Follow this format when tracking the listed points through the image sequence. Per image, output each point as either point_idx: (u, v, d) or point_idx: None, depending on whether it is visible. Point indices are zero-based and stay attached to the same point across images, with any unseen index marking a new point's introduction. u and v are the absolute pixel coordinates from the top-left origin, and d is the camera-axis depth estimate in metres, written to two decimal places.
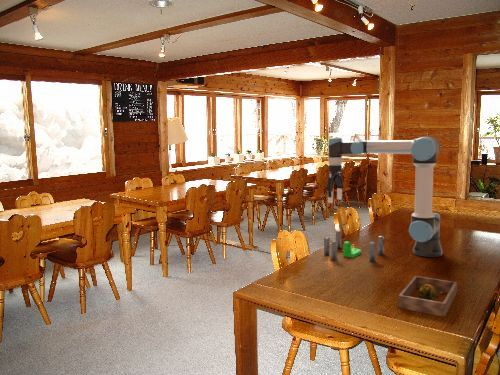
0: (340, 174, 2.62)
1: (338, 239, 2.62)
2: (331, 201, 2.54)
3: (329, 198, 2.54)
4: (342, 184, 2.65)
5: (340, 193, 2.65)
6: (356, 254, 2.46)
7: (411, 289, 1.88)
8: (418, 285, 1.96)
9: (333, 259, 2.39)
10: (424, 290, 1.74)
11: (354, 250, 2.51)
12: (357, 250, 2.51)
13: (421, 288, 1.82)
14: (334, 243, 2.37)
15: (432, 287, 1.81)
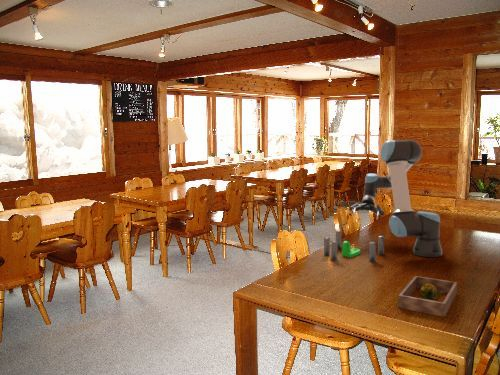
0: (377, 206, 2.73)
1: (338, 239, 2.62)
2: (353, 212, 2.64)
3: (353, 213, 2.66)
4: (381, 210, 2.67)
5: (377, 213, 2.63)
6: (355, 254, 2.47)
7: (411, 289, 1.88)
8: (418, 285, 1.96)
9: (333, 259, 2.39)
10: (426, 290, 1.74)
11: (353, 250, 2.51)
12: (356, 250, 2.51)
13: (422, 288, 1.83)
14: (334, 243, 2.37)
15: (433, 287, 1.82)
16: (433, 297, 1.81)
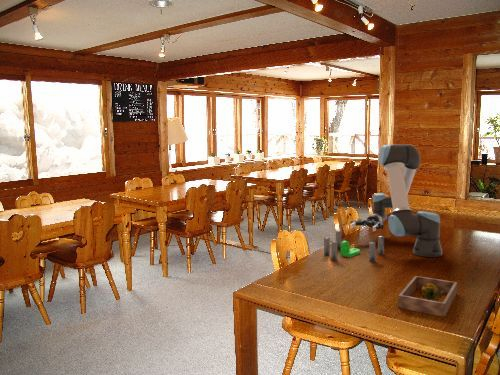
0: (379, 222, 2.71)
1: (338, 239, 2.62)
2: None
3: None
4: (381, 224, 2.65)
5: None
6: (353, 254, 2.47)
7: (411, 289, 1.88)
8: (418, 285, 1.96)
9: (333, 259, 2.39)
10: (427, 289, 1.75)
11: (353, 250, 2.52)
12: (356, 250, 2.51)
13: (423, 287, 1.83)
14: (334, 243, 2.37)
15: (434, 286, 1.82)
16: (434, 297, 1.82)
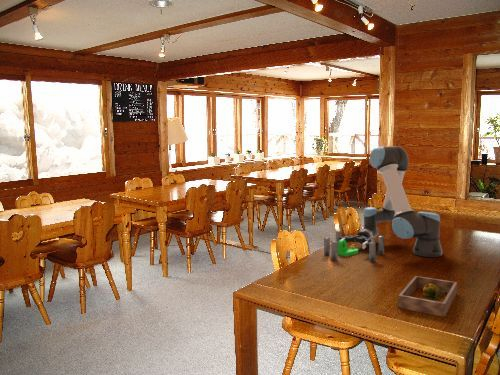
0: (370, 238, 2.57)
1: (338, 239, 2.62)
2: None
3: None
4: (371, 240, 2.50)
5: None
6: (350, 253, 2.48)
7: (411, 289, 1.88)
8: (418, 285, 1.96)
9: (333, 259, 2.39)
10: (429, 290, 1.74)
11: (351, 249, 2.52)
12: (354, 249, 2.52)
13: (425, 288, 1.82)
14: (334, 243, 2.37)
15: (436, 286, 1.81)
16: None
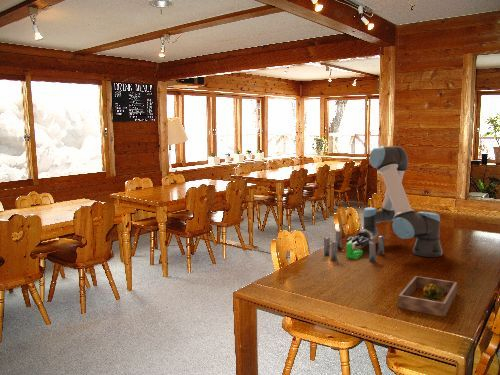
0: (368, 239, 2.55)
1: (338, 239, 2.62)
2: None
3: None
4: (362, 241, 2.50)
5: None
6: (359, 255, 2.44)
7: (411, 289, 1.88)
8: (418, 285, 1.96)
9: (333, 259, 2.39)
10: (430, 290, 1.74)
11: (356, 251, 2.49)
12: (359, 251, 2.49)
13: (425, 288, 1.82)
14: (334, 243, 2.37)
15: (436, 286, 1.81)
16: None
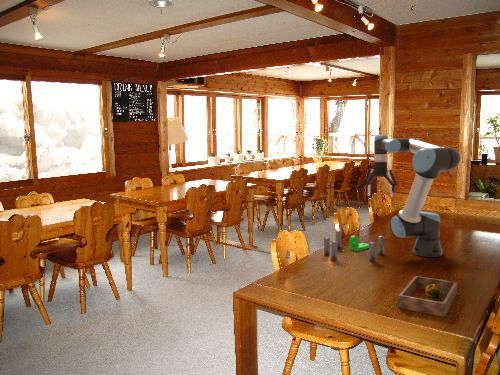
0: (389, 172, 2.63)
1: (338, 239, 2.62)
2: (368, 194, 2.72)
3: None
4: (394, 182, 2.62)
5: None
6: (362, 248, 2.58)
7: (411, 289, 1.88)
8: (418, 285, 1.96)
9: (333, 259, 2.39)
10: (433, 290, 1.73)
11: (362, 244, 2.62)
12: (365, 245, 2.62)
13: (427, 288, 1.82)
14: (334, 243, 2.37)
15: (438, 287, 1.81)
16: None
